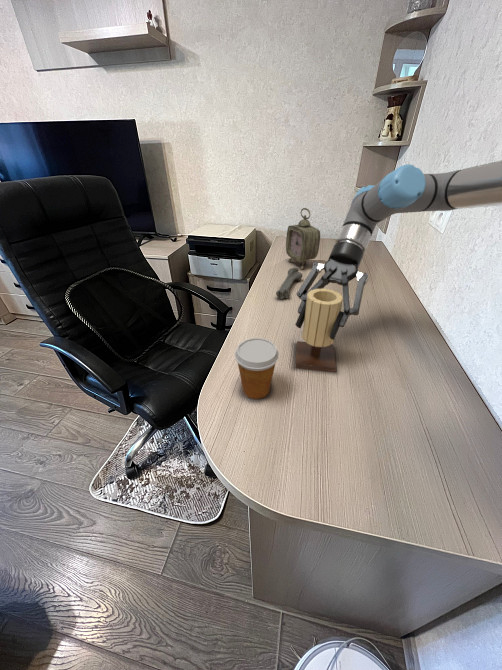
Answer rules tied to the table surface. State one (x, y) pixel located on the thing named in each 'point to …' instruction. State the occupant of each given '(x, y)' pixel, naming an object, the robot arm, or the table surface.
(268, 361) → the disposable coffee cup
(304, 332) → the wooden stave sleeve
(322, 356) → the spindle stand
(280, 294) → the bone
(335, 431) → the table surface
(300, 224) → the tabletop clock
